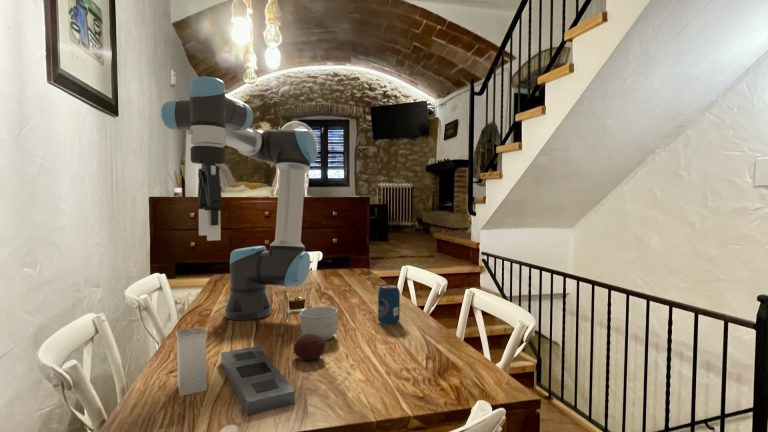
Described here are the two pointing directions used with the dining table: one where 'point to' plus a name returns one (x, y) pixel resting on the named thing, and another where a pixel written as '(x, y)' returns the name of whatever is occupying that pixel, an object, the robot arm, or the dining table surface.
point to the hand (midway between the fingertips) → (209, 237)
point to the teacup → (319, 321)
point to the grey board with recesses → (256, 380)
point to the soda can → (388, 304)
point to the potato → (309, 346)
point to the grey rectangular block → (191, 360)
